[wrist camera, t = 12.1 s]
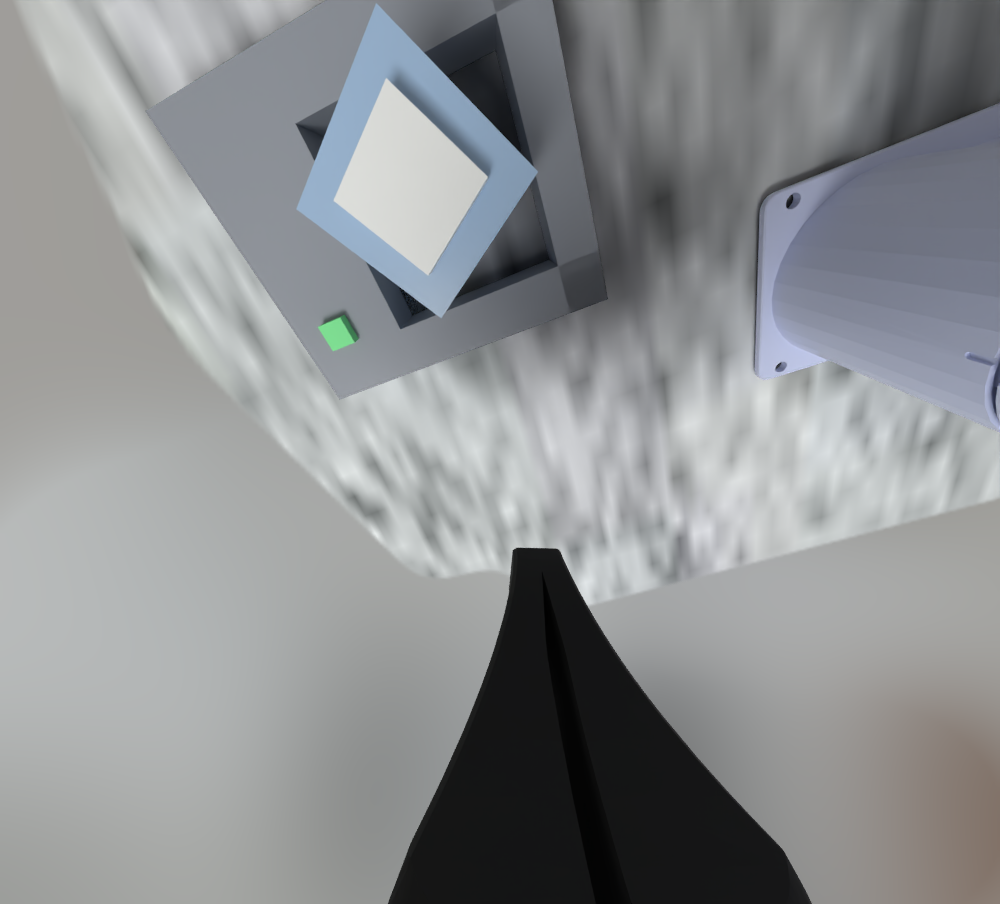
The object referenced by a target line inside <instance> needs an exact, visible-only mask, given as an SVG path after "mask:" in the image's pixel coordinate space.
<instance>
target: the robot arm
mask: <svg viewBox="0 0 1000 904" xmlns="http://www.w3.org/2000/svg"><path fill="white" fill-rule="evenodd" d="M790 195H793V198H794V199H793V202H792V204H791V205H790V207H789V208H786V201H787V199H788V198H789V196H790ZM826 361H831V362H834V363H836V364H838V365H841V366H843V367H845V368H848V369H850V370H853V371H855V372H857V373H860V374H862V375H864V376H867V377H869V378H872V379H874V380H876V381H879V382H881V383H883V384H886V385H888V386H891V387H893V388H895V389H898V390H900V391H902V392H905V393H907V394H910V395H912V396H914V397H917V398H919V399H921V400H924V401H926V402H929V403H931V404H933V405H936V406H938V407H940V408H943V409H945V410H948V411H950V412H952V413H955V414H957V415H959V416H962V417H964V418H967V419H969V420H971V421H974V422H976V423H978V424H981V425H983V426H985V427H988V428H990V429H993V430H995V431H997V432H1000V103H998V104H995V105H993V106H990V107H988V108H985V109H983V110H980V111H978V112H975V113H972V114H970V115H967V116H965V117H962V118H960V119H957V120H955V121H952V122H950V123H947V124H945V125H942V126H940V127H937V128H935V129H932V130H930V131H927V132H924V133H922V134H919V135H917V136H914V137H912V138H909V139H907V140H904V141H902V142H899V143H897V144H894V145H892V146H889V147H887V148H884V149H882V150H879V151H876V152H874V153H871V154H869V155H866V156H864V157H861V158H859V159H856V160H854V161H851V162H849V163H846V164H844V165H841V166H839V167H836V168H833V169H831V170H828V171H826V172H823V173H821V174H818V175H816V176H813V177H811V178H808V179H806V180H803V181H801V182H798V183H796V184H793V185H791V186H788V187H785V188H783V189H780V190H778V191H775V192H773V193H772V194H770V195H768V197H767V198H766V199H765V200H764V201H763V203H762V205H761V208H760V217H759V249H758V281H757V313H756V345H755V375H756V376H757V377H759V378H761V379H763V380H767V379H771V378H775V377H778V376H781V375H784V374H787V373H791V372H794V371H797V370H800V369H804V368H807V367H810V366H813V365H817V364H820V363H823V362H826ZM780 362H781V365H780V366H779V367H778V368H777V369H775V368H776V366H777V365H778V364H779V363H780ZM388 904H812V903H811V901H810V899H809V897H808V895H807V893H806V891H805V889H804V887H803V885H802V883H801V881H800V880H799V878H798V876H797V874H796V872H795V870H794V869H793V867H792V865H791V863H790V862H789V860H788V858H787V856H786V854H785V852H784V851H783V850H782V848H781V847H780V846H779V845H778V844H777V843H776V842H775V841H774V840H773V839H772V838H771V837H770V836H769V835H768V834H767V833H766V832H765V831H764V830H763V829H762V828H761V826H760V825H759V824H758V823H757V822H756V821H755V820H754V819H753V818H752V817H751V816H750V815H749V814H748V813H747V812H746V811H745V810H744V809H743V808H742V806H741V805H740V804H739V803H738V802H737V801H736V800H735V799H734V798H733V797H732V796H731V795H730V794H729V792H728V791H727V790H726V789H725V788H724V787H723V786H722V785H721V784H720V782H719V781H718V780H717V779H716V778H715V777H714V776H713V775H712V774H711V773H710V772H709V770H708V769H707V768H706V767H705V766H704V765H703V763H702V762H701V761H700V760H699V759H698V758H697V757H696V755H695V754H694V753H693V752H692V751H691V750H690V748H689V747H688V746H687V745H686V743H685V742H684V741H683V740H682V739H681V737H680V736H679V735H678V734H677V733H676V731H675V730H674V729H673V728H672V727H671V726H670V724H669V723H668V722H667V721H666V720H665V718H664V717H663V716H662V715H661V713H660V712H659V711H658V710H657V708H656V707H655V706H654V704H653V703H652V702H651V700H650V699H649V698H648V697H647V695H646V694H645V693H644V691H643V690H642V689H641V687H640V686H639V685H638V683H637V682H636V681H635V679H634V678H633V676H632V675H631V674H630V672H629V671H628V669H627V668H626V666H625V665H624V664H623V662H622V661H621V659H620V658H619V656H618V655H617V653H616V652H615V650H614V649H613V647H612V646H611V644H610V643H609V641H608V639H607V638H606V637H605V635H604V633H603V632H602V630H601V628H600V627H599V625H598V623H597V622H596V620H595V618H594V617H593V615H592V613H591V611H590V610H589V608H588V606H587V605H586V603H585V601H584V599H583V597H582V596H581V594H580V592H579V590H578V588H577V586H576V584H575V582H574V580H573V579H572V576H571V574H570V572H569V570H568V568H567V566H566V564H565V562H564V559H563V557H562V555H561V552H560V551H559V550H558V549H549V548H516V549H514V550H513V555H512V565H511V575H510V585H509V596H508V600H507V605H506V610H505V614H504V618H503V621H502V625H501V628H500V631H499V635H498V638H497V642H496V645H495V648H494V652H493V654H492V657H491V661H490V663H489V666H488V669H487V672H486V675H485V677H484V680H483V683H482V686H481V688H480V691H479V693H478V696H477V699H476V701H475V704H474V706H473V709H472V711H471V714H470V716H469V719H468V721H467V723H466V726H465V728H464V731H463V733H462V736H461V738H460V740H459V742H458V744H457V747H456V749H455V751H454V753H453V755H452V758H451V760H450V762H449V765H448V767H447V769H446V772H445V773H444V776H443V778H442V780H441V782H440V784H439V786H438V789H437V791H436V793H435V795H434V797H433V799H432V801H431V803H430V805H429V807H428V809H427V811H426V813H425V815H424V817H423V820H422V821H421V823H420V825H419V827H418V829H417V831H416V833H415V836H414V838H413V840H412V842H411V844H410V846H409V849H408V852H407V855H406V858H405V860H404V863H403V865H402V868H401V870H400V873H399V876H398V878H397V881H396V884H395V886H394V889H393V891H392V894H391V897H390V899H389V903H388Z"/></svg>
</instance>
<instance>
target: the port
mask: <svg viewBox="0 0 1000 904" xmlns="http://www.w3.org/2000/svg"><path fill="white" fill-rule="evenodd" d="M376 3H377V4H378V5H379V6H380V7H381V8H382V9H383V11H384V12H385V13H386V14H387V15H388V16H389V17H390V18H391V19H392V20H393V21H394V22H395V23H396V24H397V25H398V26H399V27H400V28H401V29H402V30H403V31H404V32H405V33H406V34H407V36H408V37H409V38H410V39H411V40H412V41H413V42H414V43H415V44H416V45H417V46H418V47H419V48H420V49H421V50H422V51H423V52H424V53H425V54H426V55H427V56H428V57H429V58H430V59H431V61H432V62H433V63H434V64H435V65H436V66H437V67H438V68H439V69H440V70H441V71H442V72H443V73H444V74H445V75H446V76H448V75H449V74H451V73H453V72H455V71H457V70H459V69H461V68H463V67H464V66H466V65H468V64H470V63H472V62H474V61H476V60H478V59H480V58H481V57H483V56H485V55H487V54H489V53H491V52H493V51H495V50H496V53H497V57H498V61H499V65H500V69H501V73H502V77H503V81H504V84H505V88H506V92H507V96H508V100H509V104H510V108H511V112H512V116H513V120H514V123H515V127H516V131H517V135H518V139H519V143H520V147H521V151H522V155H523V156H524V157H525V158H526V160H527V161H528V162H529V163H530V164H531V165H532V166H533V167H534V168H535V169H536V170H537V171H538V173H537V174H536V176H535V177H534V179H533V180H532V182H531V183H530V186H531V190H532V194H533V198H534V202H535V206H536V209H537V213H538V217H539V221H540V225H541V229H542V233H543V237H544V241H545V245H546V248H547V252H548V256H549V260H547V261H545V262H542V263H540V264H537V265H535V266H533V267H530V268H528V269H525V270H523V271H520V272H518V273H515V274H513V275H510V276H508V277H506V278H503V279H501V280H498V281H496V282H493V283H491V284H488V285H486V286H483V287H481V288H479V289H476V290H474V291H471V292H469V293H466V294H464V295H461V296H459V297H456V298H454V300H453V301H452V303H451V304H450V306H449V307H448V309H447V311H446V312H445V314H444V315H443V317H442V318H440V317H439V316H437V315H436V314H435V313H433V312H432V311H431V310H429V309H427V310H424V311H422V312H420V313H417V314H415V315H412V313H411V311H410V309H409V307H408V305H407V303H406V301H405V299H404V297H403V295H402V292H401V290H400V288H399V286H397V285H396V284H395V283H394V282H392V281H391V280H390V279H388V278H387V277H386V276H384V275H383V274H382V273H380V272H379V271H378V270H376V269H375V268H374V267H372V266H371V265H370V264H368V263H367V262H366V261H364V260H363V259H362V258H360V257H359V256H358V255H356V254H355V253H354V252H352V251H351V250H350V249H348V248H347V247H346V246H345V245H343V244H342V243H341V242H339V241H338V240H337V239H335V238H334V237H333V236H331V235H330V234H329V233H327V232H326V231H325V230H323V229H322V228H321V227H319V226H318V225H317V224H315V223H314V222H313V221H311V220H310V219H309V218H307V217H306V216H305V215H303V214H302V213H301V212H299V211H298V210H297V209H296V208H297V206H298V203H299V201H300V198H301V195H302V193H303V190H304V188H305V185H306V183H307V180H308V177H309V175H310V172H311V170H312V167H313V165H314V162H315V159H316V157H317V154H318V152H319V149H320V146H321V144H322V141H323V139H324V136H325V134H326V131H327V128H328V126H329V123H330V121H331V118H332V116H333V113H334V110H335V108H336V105H337V103H338V100H339V97H340V95H341V92H342V90H343V87H344V85H345V82H346V79H347V77H348V74H349V72H350V69H351V66H352V64H353V61H354V59H355V56H356V54H357V51H358V48H359V46H360V43H361V41H362V38H363V36H364V33H365V30H366V28H367V25H368V23H369V20H370V17H371V15H372V12H373V10H374V7H375V5H376ZM146 113H147V114H148V116H149V117H150V119H151V120H152V122H153V123H154V125H155V126H156V128H157V129H158V131H159V132H160V134H161V135H162V137H163V138H164V140H165V141H166V143H167V144H168V145H169V147H170V148H171V150H172V151H173V153H174V154H175V156H176V157H177V159H178V160H179V162H180V163H181V165H182V166H183V168H184V169H185V171H186V172H187V174H188V175H189V177H190V178H191V180H192V181H193V183H194V184H195V186H196V187H197V188H198V190H199V191H200V193H201V194H202V196H203V197H204V199H205V200H206V202H207V203H208V205H209V206H210V208H211V209H212V211H213V212H214V214H215V215H216V217H217V218H218V220H219V221H220V223H221V224H222V226H223V227H224V229H225V230H226V231H227V233H228V234H229V236H230V237H231V239H232V240H233V242H234V243H235V245H236V246H237V248H238V249H239V251H240V252H241V254H242V255H243V257H244V258H245V260H246V261H247V263H248V264H249V266H250V267H251V269H252V270H253V272H254V273H255V275H256V276H257V277H258V279H259V280H260V282H261V283H262V285H263V286H264V288H265V289H266V291H267V292H268V294H269V295H270V297H271V298H272V300H273V301H274V303H275V304H276V306H277V307H278V309H279V310H280V312H281V313H282V315H283V316H284V318H285V319H286V320H287V322H288V323H289V325H290V326H291V328H292V329H293V331H294V332H295V334H296V335H297V337H298V338H299V340H300V341H301V343H302V344H303V346H304V347H305V349H306V350H307V352H308V353H309V355H310V356H311V358H312V359H313V361H314V362H315V363H316V365H317V366H318V368H319V369H320V371H321V372H322V374H323V375H324V377H325V378H326V380H327V381H328V383H329V384H330V386H331V387H332V389H333V390H334V392H335V393H336V395H337V396H338V398H339V399H342V398H345V397H348V396H350V395H353V394H356V393H358V392H361V391H364V390H366V389H369V388H372V387H374V386H377V385H380V384H382V383H385V382H388V381H390V380H393V379H396V378H398V377H401V376H404V375H406V374H409V373H412V372H414V371H417V370H420V369H422V368H425V367H428V366H430V365H433V364H436V363H438V362H441V361H444V360H446V359H449V358H452V357H455V356H457V355H460V354H463V353H465V352H468V351H471V350H473V349H476V348H479V347H481V346H484V345H487V344H489V343H492V342H495V341H497V340H500V339H503V338H505V337H508V336H511V335H513V334H516V333H519V332H521V331H524V330H527V329H529V328H532V327H535V326H537V325H540V324H543V323H545V322H548V321H551V320H553V319H556V318H559V317H561V316H564V315H567V314H569V313H572V312H575V311H577V310H580V309H583V308H585V307H588V306H591V305H593V304H596V303H599V302H601V301H604V300H607V299H608V297H607V292H606V286H605V281H604V275H603V270H602V265H601V259H600V254H599V248H598V243H597V238H596V232H595V227H594V222H593V216H592V211H591V205H590V200H589V195H588V189H587V184H586V178H585V173H584V168H583V162H582V157H581V151H580V146H579V141H578V135H577V130H576V124H575V119H574V114H573V108H572V103H571V98H570V92H569V87H568V81H567V76H566V71H565V65H564V60H563V54H562V49H561V44H560V38H559V33H558V27H557V22H556V17H555V11H554V6H553V1H552V0H326V1H324V2H322V3H321V4H319V5H317V6H316V7H314V8H313V9H311V10H309V11H308V12H306V13H304V14H303V15H301V16H300V17H298V18H296V19H295V20H293V21H291V22H290V23H288V24H287V25H285V26H283V27H282V28H280V29H278V30H277V31H275V32H274V33H272V34H270V35H269V36H267V37H265V38H264V39H262V40H260V41H259V42H257V43H256V44H254V45H252V46H251V47H249V48H247V49H246V50H244V51H243V52H241V53H239V54H238V55H236V56H234V57H233V58H231V59H230V60H228V61H226V62H225V63H223V64H221V65H220V66H218V67H217V68H215V69H213V70H212V71H210V72H208V73H207V74H205V75H204V76H202V77H200V78H199V79H197V80H195V81H194V82H192V83H190V84H189V85H187V86H186V87H184V88H182V89H181V90H179V91H177V92H176V93H174V94H173V95H171V96H169V97H168V98H166V99H164V100H163V101H161V102H160V103H158V104H156V105H155V106H153V107H151V108H150V109H148V110H147V111H146Z"/></svg>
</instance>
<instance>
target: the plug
mask: <svg viewBox="0 0 1000 904" xmlns="http://www.w3.org/2000/svg"><path fill="white" fill-rule="evenodd" d="M537 173H538V171H537V170H536V169H535V168H534V167H533V166H532V165H531V164H530V163H529V162H528V161H527V160H526V158H525V157H524V156H523V155H522V154H521V153H520V152H519V151H518V150H517V149H516V148H515V147H514V146H513V145H512V144H511V143H510V142H509V141H508V140H507V139H506V138H505V137H504V136H503V135H502V133H501V132H500V131H499V130H498V129H497V128H496V127H495V126H494V125H493V124H492V123H491V122H490V121H489V120H488V119H487V118H486V117H485V116H484V115H483V114H482V113H481V112H480V111H479V110H478V108H477V107H476V106H475V105H474V104H473V103H472V102H471V101H470V100H469V99H468V98H467V97H466V96H465V95H464V94H463V93H462V92H461V91H460V90H459V89H458V88H457V87H456V86H455V85H454V83H453V82H452V81H451V80H450V79H449V78H448V77H447V76H446V75H445V74H444V73H443V72H442V71H441V70H440V69H439V68H438V67H437V66H436V65H435V64H434V63H433V62H432V61H431V59H430V58H429V57H428V56H427V55H426V54H425V53H424V52H423V51H422V50H421V49H420V48H419V47H418V46H417V45H416V44H415V43H414V42H413V41H412V40H411V39H410V38H409V37H408V36H407V34H406V33H405V32H404V31H403V30H402V29H401V28H400V27H399V26H398V25H397V24H396V23H395V22H394V21H393V20H392V19H391V18H390V17H389V16H388V15H387V14H386V13H385V12H384V11H383V9H382V8H381V7H380V6H379V5H378V4H377V3H376V5H375V7H374V10H373V12H372V15H371V17H370V20H369V23H368V25H367V28H366V30H365V33H364V36H363V38H362V41H361V43H360V46H359V48H358V51H357V54H356V56H355V59H354V61H353V64H352V66H351V69H350V72H349V74H348V77H347V79H346V82H345V85H344V87H343V90H342V92H341V95H340V97H339V100H338V103H337V105H336V108H335V110H334V113H333V116H332V118H331V121H330V123H329V126H328V128H327V131H326V134H325V136H324V139H323V141H322V144H321V146H320V149H319V152H318V154H317V157H316V159H315V162H314V165H313V167H312V170H311V172H310V175H309V177H308V180H307V183H306V185H305V188H304V190H303V193H302V195H301V198H300V201H299V203H298V206H297V208H296V209H297V210H298V211H299V212H301V213H302V214H303V215H305V216H306V217H307V218H309V219H310V220H311V221H313V222H314V223H315V224H317V225H318V226H319V227H321V228H322V229H323V230H325V231H326V232H327V233H329V234H330V235H331V236H333V237H334V238H335V239H337V240H338V241H339V242H341V243H342V244H343V245H345V246H346V247H347V248H348V249H350V250H351V251H352V252H354V253H355V254H356V255H358V256H359V257H360V258H362V259H363V260H364V261H366V262H367V263H368V264H370V265H371V266H372V267H374V268H375V269H376V270H378V271H379V272H380V273H382V274H383V275H384V276H386V277H387V278H388V279H390V280H391V281H392V282H394V283H395V284H396V285H397V286H399V287H400V288H401V289H403V290H404V291H405V292H407V293H408V294H409V295H411V296H412V297H413V298H415V299H416V300H417V301H419V302H420V303H421V304H423V305H424V306H425V307H427V308H428V309H429V310H431V311H432V312H433V313H435V314H436V315H437V316H439V317H440V318H442V317H443V315H444V314H445V312H446V311H447V309H448V307H449V306H450V304H451V303H452V301H453V300H454V298H455V297H456V295H457V294H458V292H459V291H460V289H461V288H462V286H463V285H464V283H465V282H466V280H467V279H468V277H469V276H470V274H471V273H472V271H473V270H474V268H475V267H476V265H477V264H478V262H479V261H480V259H481V258H482V256H483V254H484V253H485V251H486V250H487V248H488V247H489V245H490V244H491V242H492V241H493V239H494V238H495V236H496V235H497V233H498V232H499V230H500V229H501V227H502V226H503V224H504V223H505V221H506V220H507V218H508V217H509V215H510V214H511V212H512V211H513V209H514V208H515V206H516V205H517V203H518V201H519V200H520V198H521V197H522V195H523V194H524V192H525V191H526V189H527V188H528V186H529V185H530V183H531V182H532V180H533V179H534V177H535V176H536V174H537Z"/></svg>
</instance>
